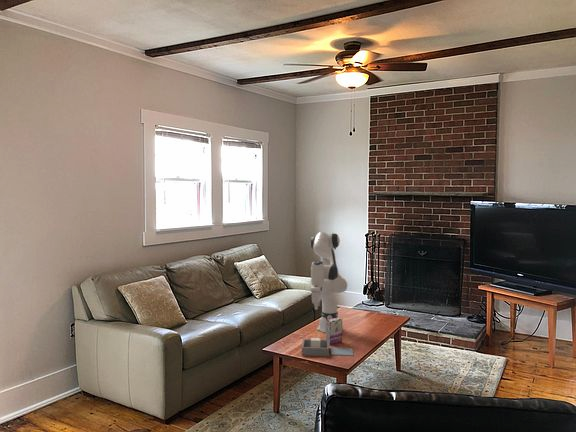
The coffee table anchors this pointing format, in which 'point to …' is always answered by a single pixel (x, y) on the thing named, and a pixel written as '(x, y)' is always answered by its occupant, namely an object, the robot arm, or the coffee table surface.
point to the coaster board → (342, 351)
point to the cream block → (315, 342)
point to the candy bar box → (334, 330)
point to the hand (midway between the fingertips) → (317, 307)
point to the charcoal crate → (315, 351)
